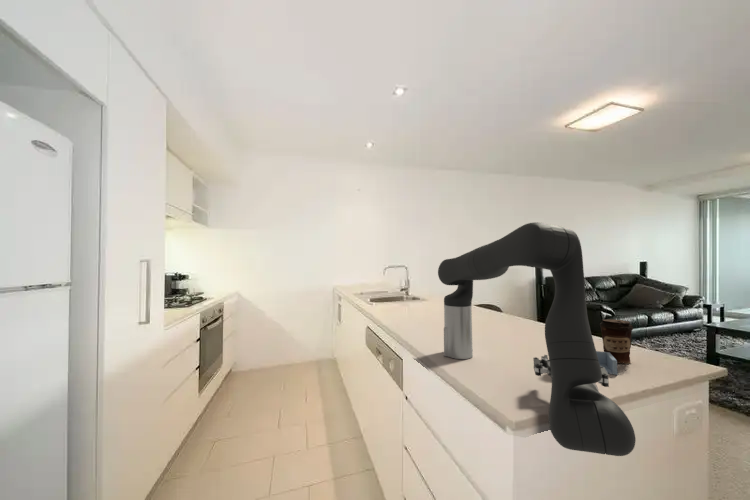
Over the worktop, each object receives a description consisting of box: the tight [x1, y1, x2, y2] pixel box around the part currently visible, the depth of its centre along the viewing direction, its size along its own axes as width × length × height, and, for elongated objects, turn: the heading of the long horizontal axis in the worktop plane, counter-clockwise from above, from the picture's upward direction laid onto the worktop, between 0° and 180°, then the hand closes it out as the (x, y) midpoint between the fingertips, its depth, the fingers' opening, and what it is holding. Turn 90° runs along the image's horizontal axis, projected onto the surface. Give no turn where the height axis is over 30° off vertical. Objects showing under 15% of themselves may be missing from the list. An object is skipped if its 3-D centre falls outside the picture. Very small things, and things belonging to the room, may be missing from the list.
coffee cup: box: [599, 318, 634, 365], centre depth 91 cm, size 9×8×13 cm
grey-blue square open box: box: [596, 350, 619, 376], centre depth 85 cm, size 8×8×4 cm
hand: (565, 361), depth 72 cm, fingers open, 8 cm apart
